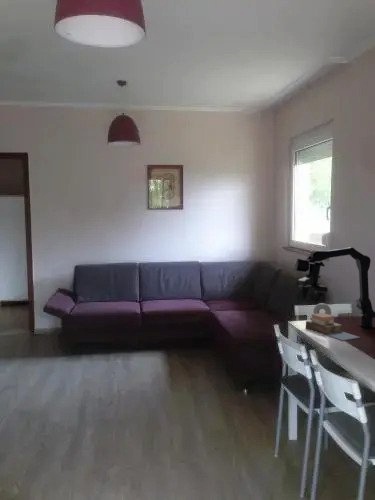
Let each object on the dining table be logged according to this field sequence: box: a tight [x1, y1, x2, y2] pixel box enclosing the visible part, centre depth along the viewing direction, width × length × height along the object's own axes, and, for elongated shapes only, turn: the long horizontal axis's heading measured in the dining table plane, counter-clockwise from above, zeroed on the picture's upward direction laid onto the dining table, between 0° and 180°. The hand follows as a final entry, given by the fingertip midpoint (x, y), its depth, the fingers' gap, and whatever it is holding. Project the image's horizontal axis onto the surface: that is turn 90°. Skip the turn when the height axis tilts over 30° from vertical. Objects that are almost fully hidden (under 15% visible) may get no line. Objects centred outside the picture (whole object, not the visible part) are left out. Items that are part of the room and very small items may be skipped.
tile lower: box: [310, 317, 335, 325], centre depth 240 cm, size 8×8×2 cm
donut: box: [312, 302, 332, 315], centre depth 262 cm, size 10×4×10 cm, turn 72°
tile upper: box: [311, 312, 335, 321], centre depth 240 cm, size 8×8×2 cm
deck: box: [305, 319, 343, 336], centre depth 239 cm, size 12×14×4 cm
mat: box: [325, 331, 361, 342], centre depth 228 cm, size 12×11×1 cm
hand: (309, 301), depth 248 cm, fingers open, 9 cm apart
